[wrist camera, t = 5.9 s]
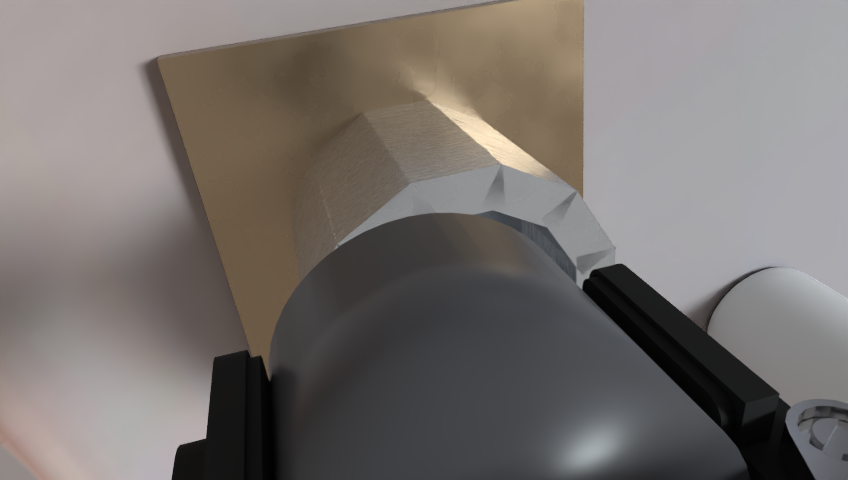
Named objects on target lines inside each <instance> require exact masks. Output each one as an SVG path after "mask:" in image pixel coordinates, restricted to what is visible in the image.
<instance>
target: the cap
mask: <svg viewBox="0 0 848 480" xmlns="http://www.w3.org/2000/svg"><path fill="white" fill-rule="evenodd" d="M268 368H269V392H270V418H271V445H272V472H273V480H751V479H750V476H749V472H748V468H747V465H746V463H745V461H744V459H743V457H742V455H741V453H740V451H739V449H738V448H737V446H736V445H735V444H734V443H733V441H732V440H731V439H730V438H729V437H728V436H727V434H726V433H725V432H724V431H723V430H722V429H721V428H720V427H719V426H718V425H717V424H716V423H715V422H714V421H713V420H712V419H711V418H710V417H709V416H708V415H707V414H706V413H705V412H704V411H703V410H702V409H701V408H700V407H699V406H698V405H697V404H696V403H695V402H694V401H693V400H692V399H691V398H690V397H689V396H688V395H687V394H686V393H685V392H684V391H683V390H682V389H681V388H680V387H679V386H678V385H677V384H676V383H675V382H674V381H673V380H672V379H671V378H670V377H669V376H668V375H667V374H666V373H665V372H664V371H663V370H662V369H661V368H660V367H659V366H658V365H657V364H656V363H655V362H654V361H653V360H652V359H651V358H650V357H649V356H648V355H647V354H646V353H645V352H644V351H643V350H642V349H641V348H640V347H639V346H638V345H637V344H636V343H635V342H634V341H633V340H632V339H631V338H630V337H629V336H628V335H627V334H626V333H625V332H624V331H623V330H622V329H621V328H620V327H619V326H618V325H617V324H616V323H615V322H614V321H613V320H612V319H611V318H610V317H609V316H608V315H607V314H606V313H605V312H604V311H603V310H602V309H601V308H600V307H599V306H598V305H597V304H596V303H595V302H594V301H593V300H592V299H591V298H590V297H589V296H588V295H587V294H586V293H585V292H584V291H583V290H582V289H581V288H580V287H579V286H578V285H577V284H576V283H575V282H574V281H573V280H572V279H571V278H570V277H569V276H568V275H567V274H566V273H565V272H564V271H563V270H562V269H561V268H560V267H559V266H558V265H557V264H556V263H555V262H554V261H553V260H552V259H551V258H550V257H549V256H548V255H547V254H546V253H545V252H544V251H543V250H542V249H541V248H540V247H539V246H538V245H536V244H535V243H534V242H533V241H531V240H530V239H529V238H528V237H527V236H525V235H524V234H522V233H520V232H518V231H517V230H515V229H513V228H512V227H510V226H507V225H505V224H502V223H500V222H497V221H495V220H492V219H489V218H484V217H480V216H476V215H471V214H461V213H428V214H421V215H415V216H408V217H404V218H401V219H397V220H394V221H390V222H387V223H384V224H382V225H379V226H377V227H374V228H372V229H370V230H367V231H365V232H363V233H361V234H359V235H358V236H356V237H354V238H352V239H350V240H349V241H347V242H345V243H343V244H342V245H341V246H339V247H338V248H337V249H335V250H334V251H333V252H331V253H330V254H328V255H327V256H326V257H325V258H324V259H322V260H321V261H320V262H319V263H318V264H317V265H316V266H315V267H314V268H313V269H312V270H311V271H310V272H309V273H308V274H307V275H306V276H305V278H304V279H303V280H302V281H301V282H300V284H299V285H298V286H297V287H296V288H295V290H294V292H293V293H292V295H291V296H290V298H289V300H288V301H287V303H286V304H285V306H284V308H283V310H282V312H281V315H280V317H279V319H278V321H277V324H276V326H275V330H274V333H273V337H272V340H271V344H270V352H269V361H268Z"/></svg>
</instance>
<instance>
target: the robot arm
mask: <svg viewBox="0 0 848 480" xmlns="http://www.w3.org/2000/svg"><path fill="white" fill-rule="evenodd" d="M582 290H583V291H584V292H585V293H586V294H587V295H588V296H589V297H590V298H591V299H592V300H593V301H594V302H595V303H596V304H597V305H598V306H599V307H600V308H601V309H602V310H603V311H604V312H605V313H606V314H607V315H608V316H609V317H610V318H611V319H612V320H613V321H614V322H615V323H616V324H617V325H618V326H619V327H620V328H621V329H622V330H623V331H624V332H625V333H626V334H627V335H628V336H629V337H630V338H631V339H632V340H633V341H634V342H635V343H636V344H637V345H638V346H639V347H640V348H641V349H642V350H643V351H644V352H645V353H646V354H647V355H648V356H649V357H650V358H651V359H652V360H653V361H654V362H655V363H656V364H657V365H658V366H659V367H660V368H661V369H662V370H663V371H664V372H665V373H666V374H667V375H668V376H669V377H670V378H671V379H672V380H673V381H674V382H675V383H676V384H677V385H678V386H679V387H680V388H681V389H682V390H683V391H684V392H685V393H686V394H687V395H688V396H689V397H690V398H691V399H692V400H693V401H694V402H695V403H696V404H697V405H698V406H699V407H700V408H701V409H702V410H703V411H704V412H705V413H706V414H707V415H708V416H709V417H710V418H711V419H712V420H713V421H714V422H715V423H716V424H717V425H718V426H719V427H720V428H721V429H722V430H723V431H724V432H725V433H726V434H727V436H728V437H729V438H730V439H731V440H732V441H733V443H734V444H735V445H736V446H737V448H738V449H739V451H740V453H741V455H742V457H743V459H744V461H745V463H746V465H747V468H748V472H749V476H750V479H751V480H848V403H844V402H840V401H837V400H828V399H811V400H804V401H802V402H799V403H797V404H794V405H793V406H792V407H790V406H789V405H788V404H787V403H786V402H784V401H783V400H782V399H781V398H780V397H779V395H780V393H778V392H777V391H776V390H775V389H774V388H772V387H771V386H770V385H769V384H768V383H766V382H765V381H764V380H763V379H762V378H760V377H759V376H758V375H757V374H755V373H754V372H753V371H752V370H751V369H749V368H748V367H747V366H746V365H745V364H743V363H742V362H741V361H740V360H739V359H737V358H736V357H735V356H734V355H733V354H731V353H730V352H729V351H728V350H727V349H725V348H724V347H723V346H722V345H720V344H719V343H718V342H717V341H716V340H714V339H713V338H712V337H711V336H710V335H708V334H707V333H706V332H705V331H704V330H702V329H701V328H700V327H699V326H698V325H696V324H695V323H694V322H693V321H691V320H690V319H689V318H688V317H687V316H685V315H684V314H683V313H682V312H681V311H679V310H678V309H677V308H676V307H675V306H673V305H672V304H671V303H670V302H669V301H667V300H666V299H665V298H664V297H663V296H661V295H660V294H659V293H658V292H656V291H655V290H654V289H653V288H652V287H650V286H649V285H648V284H647V283H646V282H644V281H643V280H642V279H641V278H640V277H638V276H637V275H636V274H635V273H634V272H632V271H631V270H630V269H629V268H627V267H626V266H625V265H623V264H615V265H611V266H606V267H602V268H598V269H594V270H592V271H591V273H590V276H589V278H588V279H585V280H584V282H583V286H582ZM172 480H273V472H272V445H271V418H270V392H269V379H268V376H267V372H266V369H265V365H264V362H263V358H262V356H261V355H260V356H255V357H250V354H249V352H248V351H247V350H245V351H240V352H236V353H232V354H227V355H223V356H219V357H215V358H214V362H213V372H212V383H211V393H210V404H209V414H208V425H207V435H206V439H203V440H199V441H195V442H191V443H187V444H183V445H180V446H179V447H178V449H177V451H176V455H175V461H174V467H173V474H172Z"/></svg>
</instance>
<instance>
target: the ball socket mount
mask: <svg viewBox="0 0 848 480" xmlns="http://www.w3.org/2000/svg"><path fill="white" fill-rule="evenodd" d="M157 63H158V66H159V69H160V72H161V75H162V78H163V81H164V84H165V87H166V90H167V94H168V97H169V100H170V103H171V106H172V109H173V112H174V115H175V118H176V121H177V125H178V128H179V131H180V134H181V137H182V140H183V143H184V146H185V149H186V152H187V156H188V159H189V162H190V165H191V168H192V171H193V174H194V177H195V180H196V183H197V187H198V190H199V193H200V196H201V199H202V202H203V205H204V208H205V211H206V214H207V218H208V221H209V224H210V227H211V230H212V233H213V236H214V239H215V242H216V245H217V249H218V252H219V255H220V258H221V261H222V264H223V267H224V270H225V273H226V276H227V280H228V283H229V286H230V289H231V292H232V295H233V298H234V301H235V304H236V307H237V311H238V314H239V317H240V320H241V323H242V326H243V329H244V332H245V335H246V338H247V342H248V345H249V348H250V351H251V354H252V357H255V356H260V355H261V356H262V358H263V362H264V365H265V369H266V372H267V376H268V379H269V368H268V361H269V352H270V344H271V340H272V337H273V333H274V330H275V326H276V324H277V321H278V319H279V317H280V315H281V312H282V310H283V308H284V306H285V304H286V303H287V301H288V300H289V298H290V296H291V295H292V293H293V292H294V290H295V288H296V287H297V286H298V285H299V284H300V282H301V281H302V280H303V279H304V278H305V276H306V275H307V274H308V273H309V272H310V271H311V270H312V269H313V268H314V267H315V266H316V265H317V264H318V263H319V262H320V261H321V260H322V259H324V258H325V257H326V256H327V255H328V254H330V253H331V252H333V251H334V250H335V249H337V248H338V247H339V246H341V245H342V244H343V243H345V242H347V241H349V240H350V239H352V238H354V237H356V236H358V235H359V234H361V233H363V232H365V231H367V230H370V229H372V228H374V227H377V226H379V225H382V224H384V223H387V222H390V221H394V220H397V219H401V218H404V217H408V216H415V215H421V214H428V213H461V214H471V215H476V216H480V217H484V218H489V219H492V220H495V221H497V222H500V223H502V224H505V225H507V226H510V227H512V228H513V229H515V230H517V231H518V232H520V233H522V234H524V235H525V236H527V237H528V238H529V239H530V240H531V241H533V242H534V243H535V244H536V245H538V246H539V247H540V248H541V249H542V250H543V251H544V252H545V253H546V254H547V255H548V256H549V257H550V258H551V259H552V260H553V261H554V262H555V263H556V264H557V265H558V266H559V267H560V268H561V269H562V270H563V271H564V272H565V273H566V274H567V275H568V276H569V277H570V278H571V279H572V280H573V281H574V282H575V283H576V284H577V285H578V286H579V287H580V288H581V289H582V286H583V282H584V280H585V279H588V278H589V276H590V273H591V271H592V270H594V269H598V268H602V267H606V266H611V265H615V249H616V248H615V247H614V245H613V244H612V242H611V241H610V239H609V238H608V236H607V235H606V233H605V232H604V230H603V229H602V227H601V226H600V224H599V223H598V221H597V220H596V218H595V217H594V215H593V214H592V212H591V211H590V209H589V208H588V206H587V205H586V203H585V202H584V200H583V82H584V0H499V1H493V2H487V3H481V4H474V5H468V6H462V7H456V8H450V9H444V10H438V11H431V12H425V13H419V14H413V15H407V16H401V17H395V18H388V19H382V20H376V21H370V22H364V23H358V24H352V25H345V26H339V27H333V28H327V29H321V30H315V31H308V32H302V33H296V34H290V35H284V36H278V37H272V38H265V39H259V40H253V41H247V42H241V43H235V44H229V45H222V46H216V47H210V48H204V49H198V50H192V51H186V52H179V53H173V54H167V55H161V56H159V57H158V59H157Z"/></svg>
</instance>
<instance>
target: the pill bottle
mask: <svg viewBox="0 0 848 480" xmlns="http://www.w3.org/2000/svg"><path fill="white" fill-rule="evenodd" d="M707 334H708V335H710V336H711V337H712V338H713V339H714V340H716V341H717V342H718V343H719V344H720V345H722V346H723V347H724V348H725V349H727V350H728V351H729V352H730V353H731V354H733V355H734V356H735V357H736V358H737V359H739V360H740V361H741V362H742V363H743V364H745V365H746V366H747V367H748V368H749V369H751V370H752V371H753V372H754V373H755V374H757V375H758V376H759V377H760V378H762V379H763V380H764V381H765V382H766V383H768V384H769V385H770V386H771V387H772V388H774V389H775V390H776V391H777V392H778V393H780V395H779V397H780V398H781V399H782V400H783V401H784V402H786V403H787V404H788V405H789V406H790V407H792V406H793V405H794V404H797V403H799V402H802V401H804V400H811V399H828V400H837V401H840V402H844V403H848V299H847V298H845V297H844V296H842V295H841V294H839V293H837V292H836V291H834V290H832V289H831V288H829V287H827V286H826V285H824V284H822V283H821V282H819V281H817V280H816V279H814V278H813V277H811V276H809V275H807V274H805V273H803V272H801V271H798V270H796V269H792V268H787V267H775V268H769V269H765V270H762V271H759V272H757V273H755V274H753V275H751V276H749V277H747V278H746V279H744V280H743V281H741V282H740V283H738V284H737V285H736V286H735V287H734V288H732V289H731V290H730V291H729V292H728V293H727V294H726V296H725V297H724V298H723V299H722V300H721V302H720V303H719V304H718V306H717V308H716V309H715V311H714V313H713V315H712V317H711V319H710V322H709V325H708V330H707Z"/></svg>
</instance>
